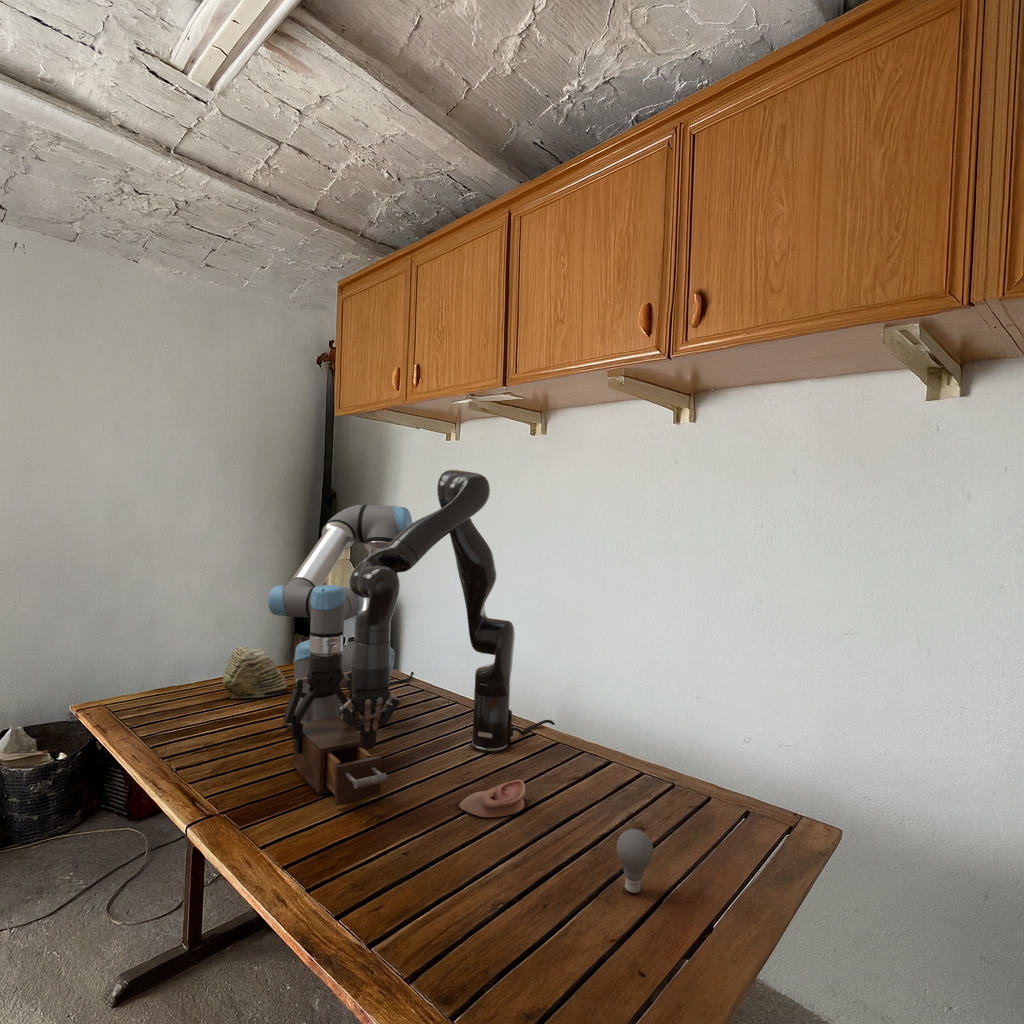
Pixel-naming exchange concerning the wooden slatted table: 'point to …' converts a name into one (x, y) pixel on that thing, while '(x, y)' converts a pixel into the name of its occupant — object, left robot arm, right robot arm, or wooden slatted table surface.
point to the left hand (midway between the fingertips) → (322, 746)
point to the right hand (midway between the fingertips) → (367, 748)
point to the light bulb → (634, 857)
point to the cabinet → (322, 748)
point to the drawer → (353, 774)
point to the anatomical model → (496, 800)
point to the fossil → (252, 674)
